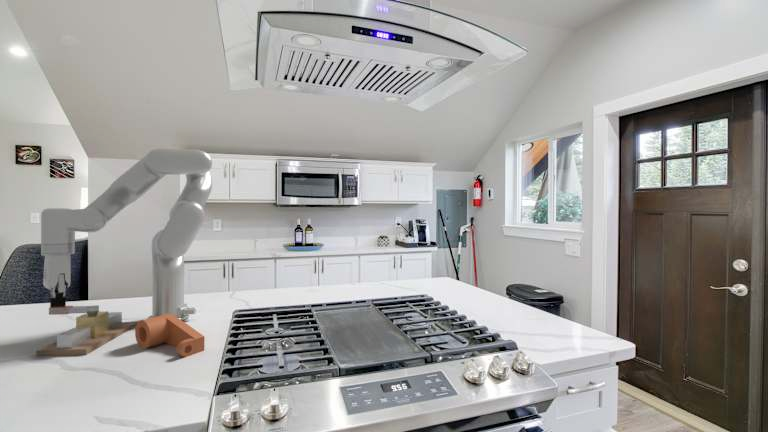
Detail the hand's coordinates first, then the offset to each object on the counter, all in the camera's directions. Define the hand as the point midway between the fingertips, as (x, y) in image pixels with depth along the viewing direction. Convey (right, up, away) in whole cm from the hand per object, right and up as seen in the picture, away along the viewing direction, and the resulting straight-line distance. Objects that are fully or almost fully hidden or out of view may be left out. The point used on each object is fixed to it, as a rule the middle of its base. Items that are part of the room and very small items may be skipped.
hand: (57, 310), depth 108 cm
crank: (+37, -9, -7) cm, 39 cm away
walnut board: (+12, -8, -1) cm, 14 cm away
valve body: (+12, -7, -1) cm, 13 cm away
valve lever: (+7, 0, -2) cm, 7 cm away
